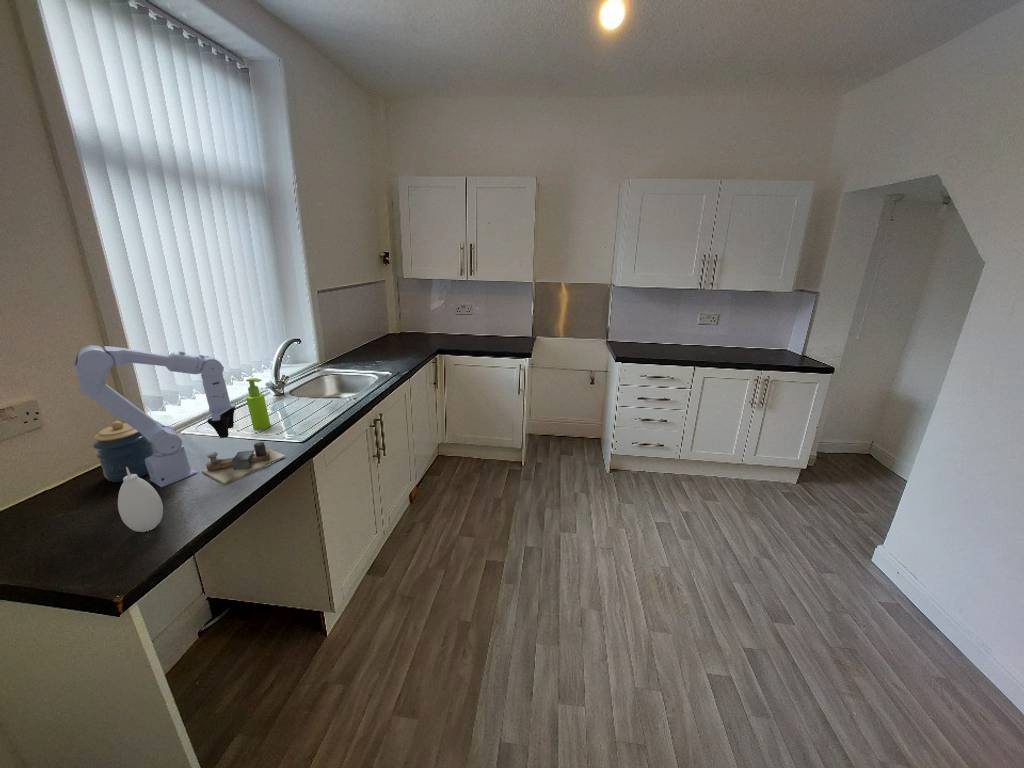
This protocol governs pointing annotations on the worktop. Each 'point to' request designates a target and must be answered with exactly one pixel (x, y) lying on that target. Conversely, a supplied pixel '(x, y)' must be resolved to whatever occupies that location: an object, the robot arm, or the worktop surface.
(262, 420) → the soap dispenser
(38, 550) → the worktop surface
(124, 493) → the air blower bulb
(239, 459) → the keeper
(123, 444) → the canister
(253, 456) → the link
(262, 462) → the latch board
